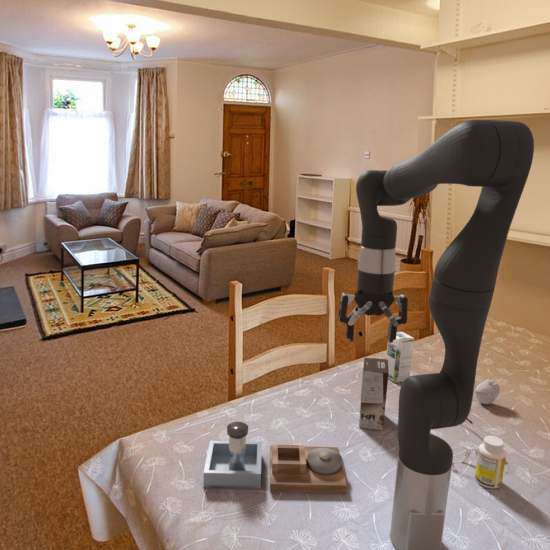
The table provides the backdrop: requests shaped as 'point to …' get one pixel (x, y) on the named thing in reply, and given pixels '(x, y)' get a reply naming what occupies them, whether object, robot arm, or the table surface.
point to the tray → (225, 478)
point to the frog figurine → (487, 391)
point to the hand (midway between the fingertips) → (370, 340)
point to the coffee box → (373, 393)
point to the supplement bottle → (490, 462)
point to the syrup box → (400, 357)
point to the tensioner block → (306, 469)
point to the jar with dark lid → (237, 445)
